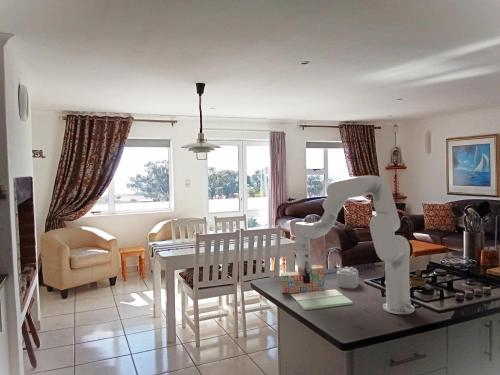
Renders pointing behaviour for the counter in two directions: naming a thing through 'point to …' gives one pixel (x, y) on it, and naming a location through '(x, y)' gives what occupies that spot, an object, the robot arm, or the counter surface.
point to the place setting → (418, 280)
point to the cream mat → (316, 295)
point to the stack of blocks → (295, 283)
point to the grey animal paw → (347, 277)
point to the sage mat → (325, 302)
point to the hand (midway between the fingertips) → (304, 280)
